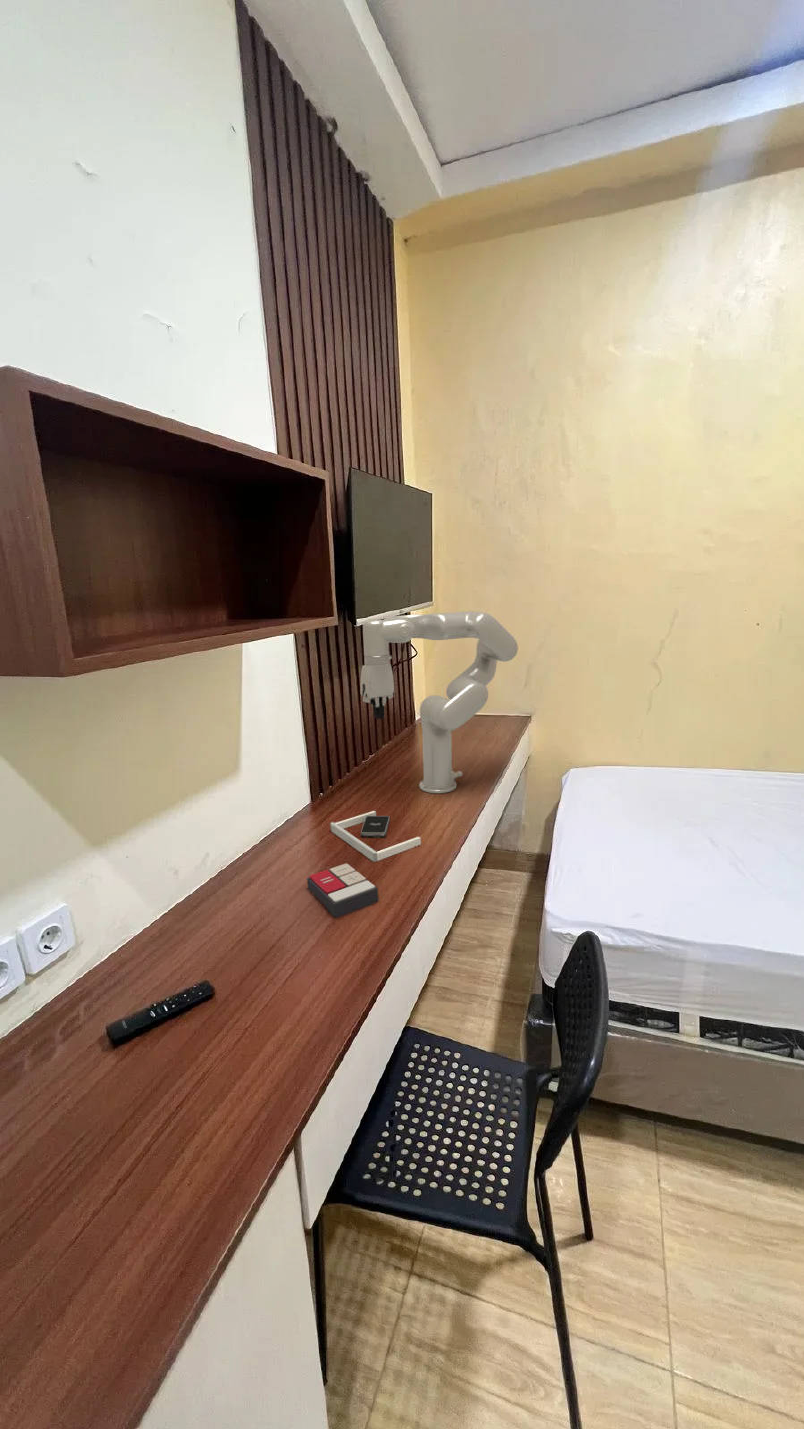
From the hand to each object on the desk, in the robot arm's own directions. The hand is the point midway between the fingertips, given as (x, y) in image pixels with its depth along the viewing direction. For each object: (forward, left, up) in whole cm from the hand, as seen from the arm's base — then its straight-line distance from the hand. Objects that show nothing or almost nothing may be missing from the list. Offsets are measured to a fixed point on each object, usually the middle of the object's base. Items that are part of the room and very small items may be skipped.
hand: (379, 718), depth 178 cm
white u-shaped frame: (+18, +22, -27) cm, 39 cm away
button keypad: (+39, +41, -28) cm, 63 cm away
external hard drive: (+14, +18, -28) cm, 36 cm away
